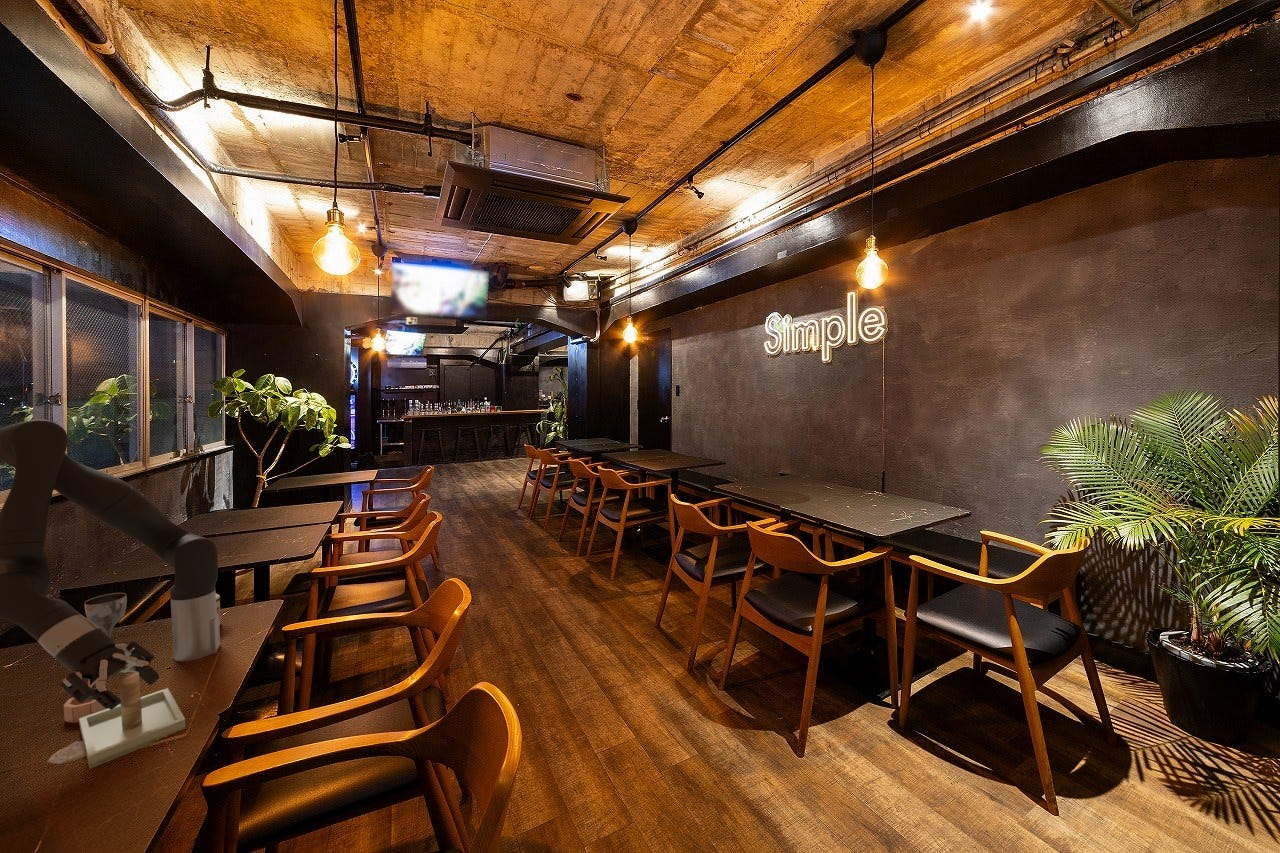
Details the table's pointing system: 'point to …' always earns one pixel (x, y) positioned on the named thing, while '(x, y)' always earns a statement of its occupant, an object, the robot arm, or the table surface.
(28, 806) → the table surface
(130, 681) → the beech pin
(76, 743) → the flatbread
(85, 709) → the pin holder cup
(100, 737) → the sage tray
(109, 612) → the wine glass
